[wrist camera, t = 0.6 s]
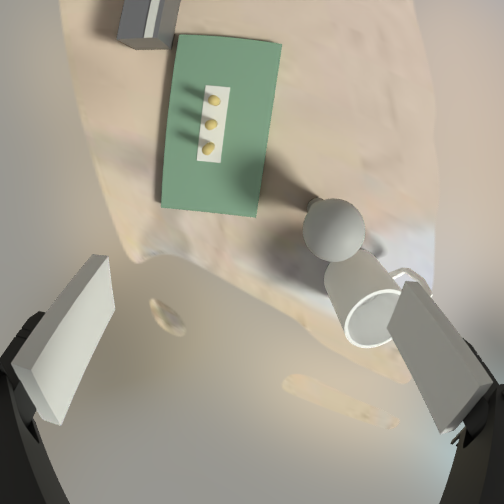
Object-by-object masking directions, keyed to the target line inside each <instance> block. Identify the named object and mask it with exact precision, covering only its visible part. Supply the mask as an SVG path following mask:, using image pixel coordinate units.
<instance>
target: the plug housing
mask: <svg viewBox="0 0 504 504" xmlns="http://www.w3.org/2000/svg"><path fill="white" fill-rule="evenodd" d="M180 1H181V0H125V1H124V5H123V10H122V14H121V19H120V24H119V29H118V34H117V40H118V41H120V42H122V43H124V44H126V45H128V46H130V47H132V48H133V49H135V50H155V49H169V50H171V49H172V43H173V37H174V31H175V26H176V21H177V15H178V10H179V6H180Z"/></svg>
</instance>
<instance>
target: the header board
mask: <svg viewBox="0 0 504 504" xmlns="http://www.w3.org/2000/svg"><path fill="white" fill-rule="evenodd" d="M281 49H282V44H278V43H271V42H265V41H258V40H250V39H241V38H232V37H220V36H205V35H179V39H178V45H177V51H176V58H175V64H174V71H173V78H172V85H171V93H170V101H169V110H168V119H167V129H166V140H165V151H164V164H163V179H162V198H161V208H172V209H182V210H192V211H201V212H211V213H220V214H229V215H238V216H246V217H255V218H256V214H257V207H258V201H259V194H260V187H261V181H262V174H263V168H264V161H265V154H266V148H267V141H268V134H269V128H270V121H271V115H272V108H273V101H274V95H275V88H276V82H277V75H278V68H279V62H280V55H281Z"/></svg>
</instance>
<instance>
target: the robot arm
mask: <svg viewBox="0 0 504 504" xmlns="http://www.w3.org/2000/svg"><path fill="white" fill-rule="evenodd" d="M114 310H115V304H114V298H113V291H112V283H111V275H110V266H109V256H104V255H95V254H93V255H92V256H91V257H90V258H89V259H88V260H87V262H86V263H85V264H84V265H83V266H82V268H81V269H80V270H79V271H78V272H77V274H76V275H75V276H74V277H73V278H72V280H71V281H70V282H69V283H68V285H67V286H66V287H65V289H64V290H63V291H62V292H61V294H60V295H59V296H58V297H57V299H56V300H55V302H54V303H53V304H52V305H51V307H50V308H49V309H48V311H47V312H46V313H45V312H40V311H39V312H37V313H36V314H34V315H33V316H31V317H30V318H29V319H28V320H27V321H26V323H25V324H24V325H23V327H22V330H20V331H19V332H18V333H17V335H16V337H14V339H13V340H12V342H11V343H10V345H9V346H8V347H7V349H6V350H5V352H4V353H3V355H2V356H1V357H0V504H70V503H69V501H68V499H67V497H66V495H65V493H64V491H63V489H62V487H61V485H60V483H59V481H58V478H57V476H56V474H55V472H54V470H53V467H52V465H51V462H50V460H49V458H48V455H47V453H46V450H45V447H44V445H43V442H42V439H41V437H40V434H39V431H38V428H37V425H36V422H35V421H34V419H33V416H34V414H35V412H36V410H37V411H38V413H39V415H40V416H41V418H42V419H43V420H46V421H48V422H51V423H55V424H57V425H60V426H61V425H62V423H63V420H64V417H65V415H66V413H67V410H68V408H69V405H70V403H71V401H72V398H73V396H74V394H75V391H76V389H77V387H78V385H79V382H80V380H81V378H82V376H83V373H84V371H85V369H86V367H87V365H88V363H89V361H90V359H91V356H92V354H93V352H94V350H95V348H96V346H97V344H98V342H99V340H100V338H101V336H102V334H103V332H104V330H105V328H106V326H107V324H108V322H109V320H110V318H111V316H112V314H113V312H114ZM387 330H388V332H389V334H390V335H391V337H392V339H393V341H394V343H395V344H396V346H397V348H398V350H399V352H400V354H401V356H402V358H403V359H404V361H405V363H406V365H407V367H408V369H409V371H410V373H411V375H412V377H413V379H414V381H415V383H416V385H417V387H418V389H419V391H420V393H421V395H422V397H423V399H424V401H425V403H426V405H427V407H428V409H429V411H430V413H431V416H432V418H433V420H434V422H435V424H436V426H437V428H438V430H439V433H440V434H443V433H447V432H450V431H454V430H455V429H456V428H457V427H458V426H459V424H460V423H461V422H462V421H463V422H464V424H465V427H464V428H463V429H462V430H461V431H460V433H459V434H458V435H457V436H456V437H455V438H454V439H453V440H452V442H451V444H454V443H455V442H456V440H458V439H459V442H458V443H457V445H456V446H457V450H456V454H455V457H454V461H453V465H452V468H451V472H450V474H449V478H448V481H447V484H446V487H445V490H444V492H443V495H442V498H441V501H440V503H439V504H504V384H500V385H499V384H498V382H497V381H496V379H495V378H494V376H493V375H492V374H491V372H490V371H489V369H488V368H487V366H486V365H485V363H484V362H482V359H481V358H480V357H479V355H477V352H476V351H475V350H474V348H473V347H472V345H471V344H470V343H468V342H467V341H466V340H464V338H462V337H461V336H460V334H459V333H458V332H457V330H456V329H455V328H454V326H453V325H452V324H451V322H450V321H449V320H448V318H447V317H446V316H445V315H444V313H443V312H442V311H441V310H440V308H439V307H438V306H437V304H436V303H434V301H433V300H432V298H431V297H430V296H429V295H428V293H427V292H426V291H425V290H424V289H423V287H422V286H421V285H420V284H419V283H418V282H410V281H405V283H404V286H403V289H402V291H401V294H400V296H399V299H398V302H397V304H396V306H395V309H394V311H393V314H392V316H391V319H390V321H389V323H388V326H387Z"/></svg>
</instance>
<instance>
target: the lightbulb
mask: <svg viewBox="0 0 504 504" xmlns="http://www.w3.org/2000/svg"><path fill="white" fill-rule="evenodd" d="M307 211H308V213H307V215H306V217H305V220H304V224H303V237H304V241H305V243H306V245H307V247H308V249H309V250H310V251H311V252H312V253H313V254H314V255H315V256H317V257H318V258H320V259H322V260H325V261H329V262H340V261H343V260H346V259H348V258H350V257H352V256H353V255H354V254H355V253H356V252H357V251H358V250H359V249H360V247H361V246H362V243H363V241H364V237H365V224H364V220H363V218H362V215H361V214H360V212H359V211H358V210H357V209H356V208H355V207H354V206H353V205H352V204H351V203H349V202H347V201H344V200H341V199H326V200H323V199H321V198H314V199H312V200H311V201H310V202H309V203H308V206H307Z"/></svg>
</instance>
